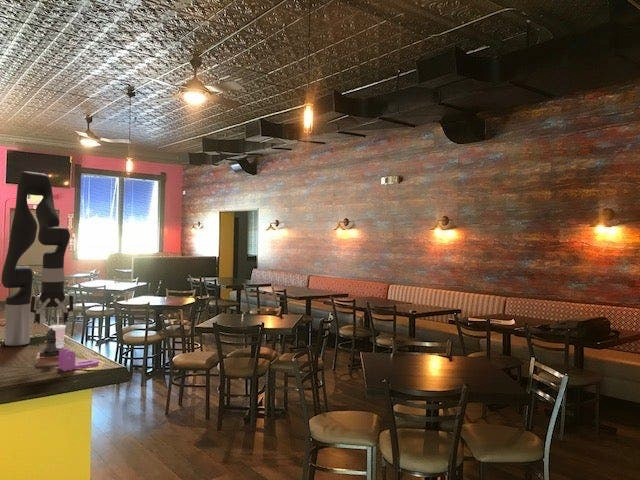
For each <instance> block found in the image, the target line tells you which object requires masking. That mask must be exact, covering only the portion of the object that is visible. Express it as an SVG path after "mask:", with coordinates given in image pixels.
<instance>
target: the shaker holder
mask: <svg viewBox="0 0 640 480" xmlns="http://www.w3.org/2000/svg"><path fill="white" fill-rule="evenodd" d="M60 351H61V350H59V352H60ZM51 366H53V367H54V366H59V353H58V354H57V355H56V356H51V357H46V356H45V355H44V354H43V351H38V352H37V355H36V358H35V368H38V367H39V368H40V367H51Z"/></svg>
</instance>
